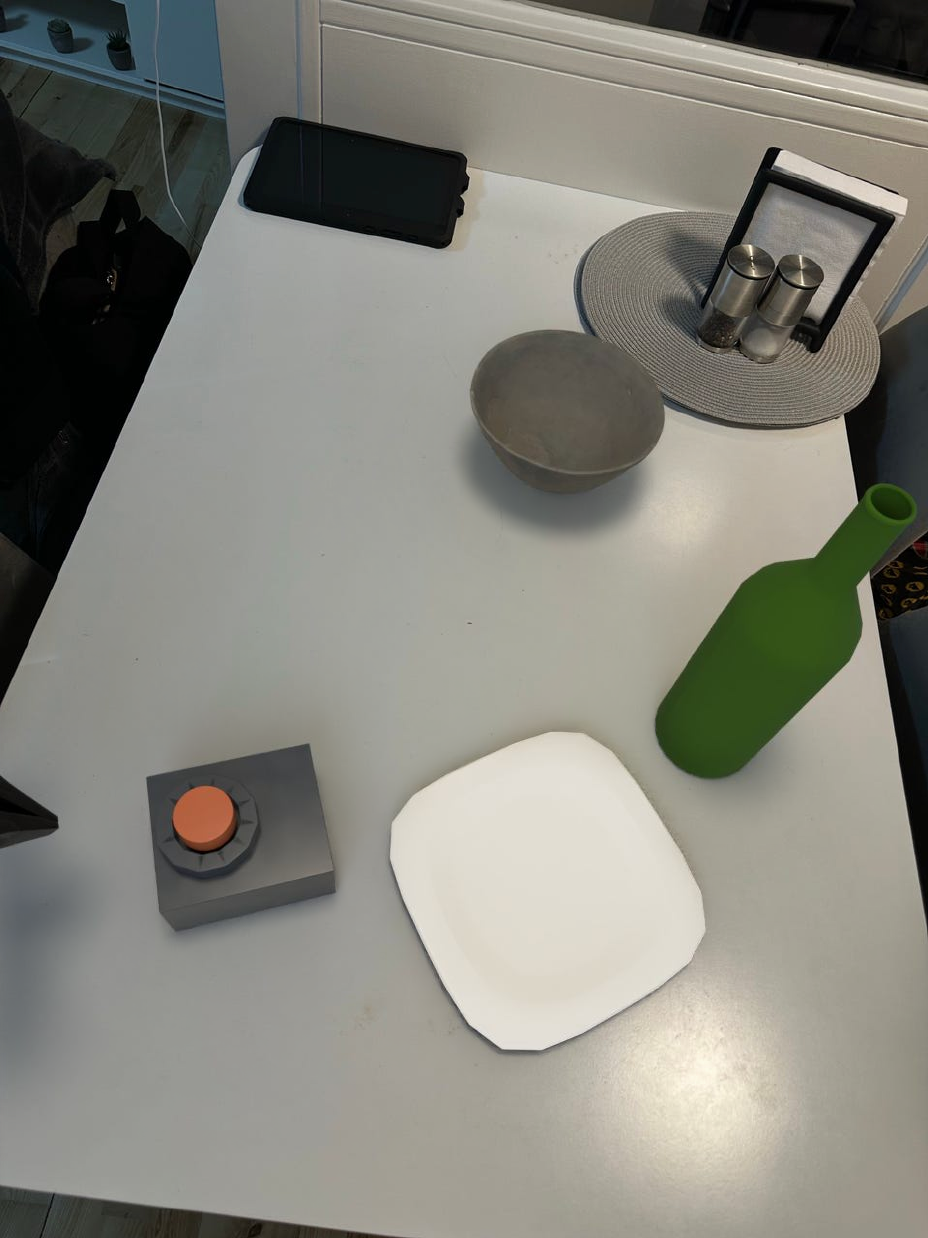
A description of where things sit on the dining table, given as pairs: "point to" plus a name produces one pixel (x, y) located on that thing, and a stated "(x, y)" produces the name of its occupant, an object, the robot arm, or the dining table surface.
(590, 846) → the plate
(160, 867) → the control block
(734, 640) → the wine bottle
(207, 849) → the button
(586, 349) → the bowl
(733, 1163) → the dining table surface
